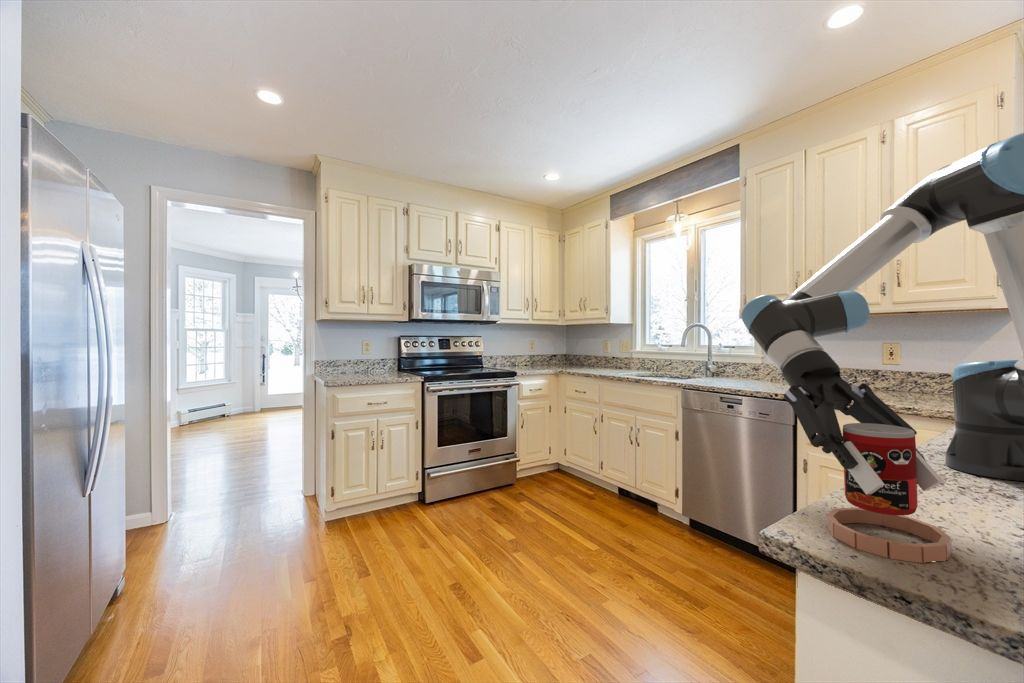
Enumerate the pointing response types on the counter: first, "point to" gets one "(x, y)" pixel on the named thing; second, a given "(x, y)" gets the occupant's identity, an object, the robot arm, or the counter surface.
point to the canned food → (884, 467)
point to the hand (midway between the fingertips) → (904, 487)
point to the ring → (886, 548)
